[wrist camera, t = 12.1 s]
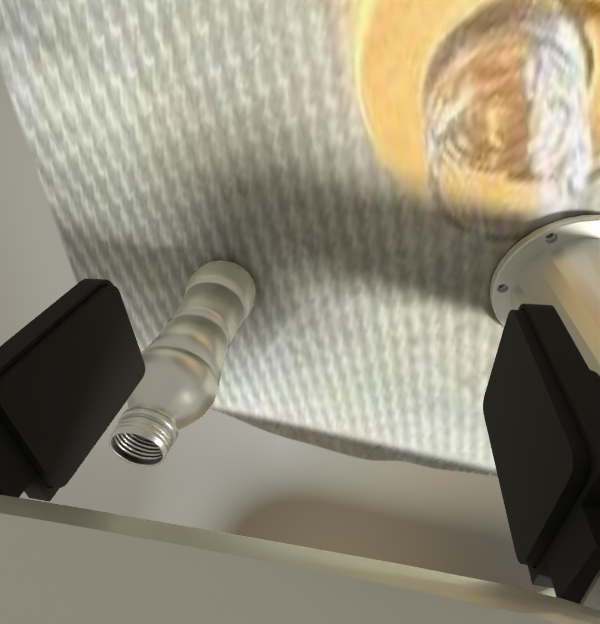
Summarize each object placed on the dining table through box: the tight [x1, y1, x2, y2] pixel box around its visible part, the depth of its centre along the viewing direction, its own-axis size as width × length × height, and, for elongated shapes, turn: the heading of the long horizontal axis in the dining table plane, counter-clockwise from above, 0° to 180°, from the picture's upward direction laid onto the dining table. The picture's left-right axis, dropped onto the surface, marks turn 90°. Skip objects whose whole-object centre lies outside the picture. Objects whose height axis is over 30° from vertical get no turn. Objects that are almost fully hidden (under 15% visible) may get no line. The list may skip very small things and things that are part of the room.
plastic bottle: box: [109, 260, 256, 467], centre depth 33 cm, size 6×7×20 cm
